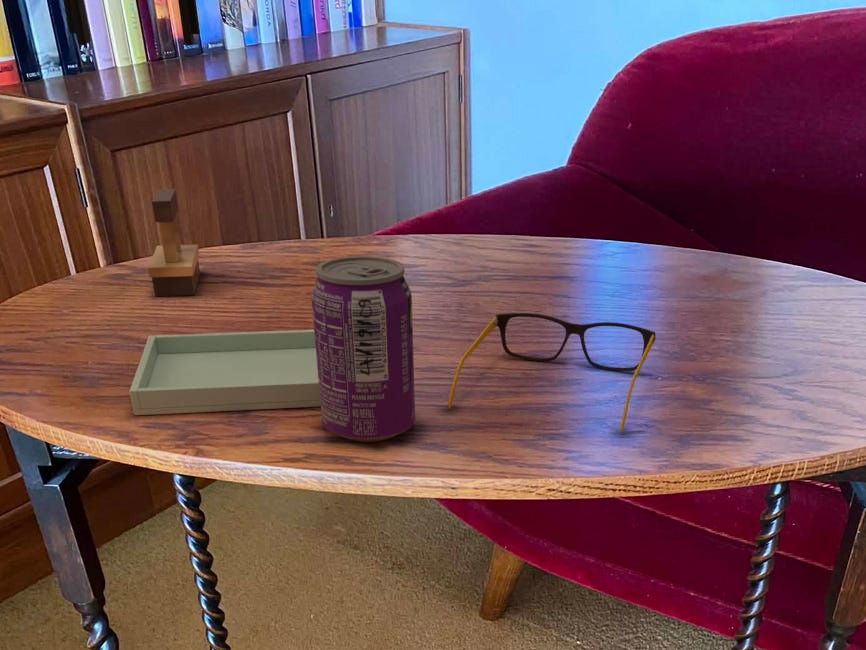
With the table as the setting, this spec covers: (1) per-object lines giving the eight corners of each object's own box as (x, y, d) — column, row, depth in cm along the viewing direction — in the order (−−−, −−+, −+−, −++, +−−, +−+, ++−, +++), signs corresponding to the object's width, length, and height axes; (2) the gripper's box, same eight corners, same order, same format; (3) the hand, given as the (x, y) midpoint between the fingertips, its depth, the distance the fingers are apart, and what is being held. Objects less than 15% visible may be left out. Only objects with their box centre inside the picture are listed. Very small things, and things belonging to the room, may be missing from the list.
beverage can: (433, 423, 75) (430, 263, 68) (380, 456, 70) (371, 287, 63) (359, 404, 78) (349, 249, 71) (303, 434, 73) (287, 271, 66)
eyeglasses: (652, 371, 85) (658, 326, 83) (622, 435, 74) (627, 384, 71) (498, 352, 88) (499, 308, 86) (446, 410, 77) (446, 361, 75)
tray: (134, 415, 75) (129, 391, 74) (153, 357, 86) (148, 335, 85) (366, 404, 78) (365, 380, 77) (357, 349, 88) (355, 327, 87)
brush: (153, 297, 100) (136, 204, 95) (161, 273, 108) (146, 186, 102) (196, 295, 101) (181, 203, 96) (202, 272, 108) (189, 185, 103)
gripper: (-22, -204, 77) (33, 47, 87) (200, -196, 79) (228, 47, 89) (0, -193, 83) (50, 40, 93) (206, -186, 85) (232, 41, 95)
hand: (137, 43), depth 91 cm, fingers open, 9 cm apart
